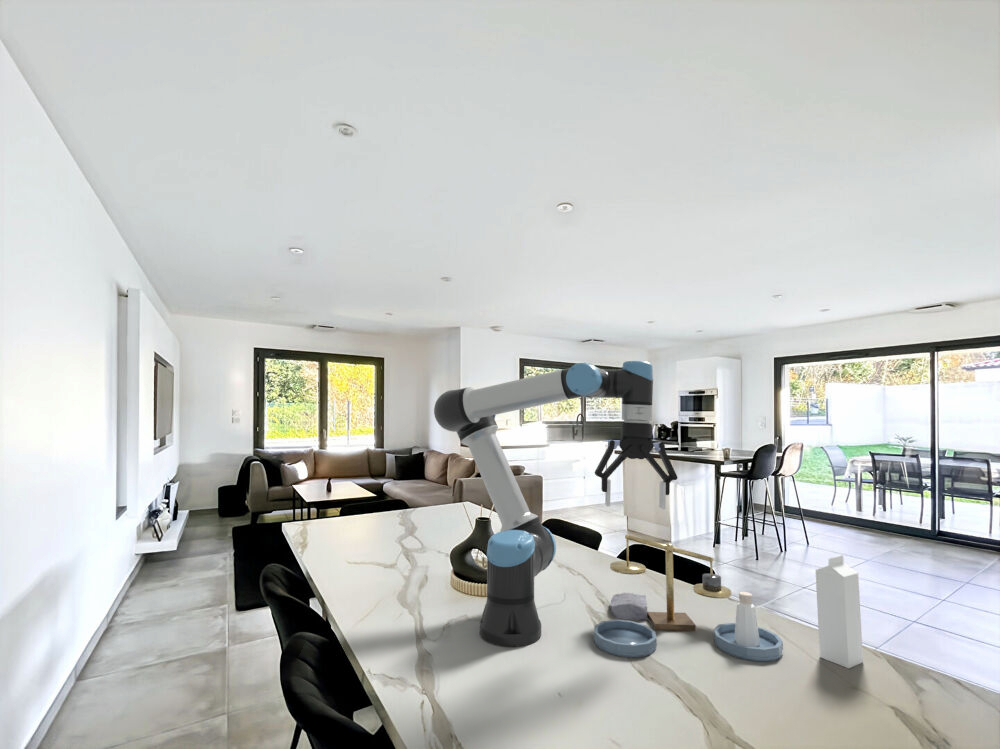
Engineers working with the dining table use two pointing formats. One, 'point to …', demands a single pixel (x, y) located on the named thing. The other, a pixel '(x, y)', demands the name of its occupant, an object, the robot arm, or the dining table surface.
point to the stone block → (629, 606)
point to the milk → (839, 613)
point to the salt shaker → (746, 622)
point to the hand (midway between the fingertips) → (634, 506)
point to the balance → (670, 619)
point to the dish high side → (625, 638)
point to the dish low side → (763, 653)
